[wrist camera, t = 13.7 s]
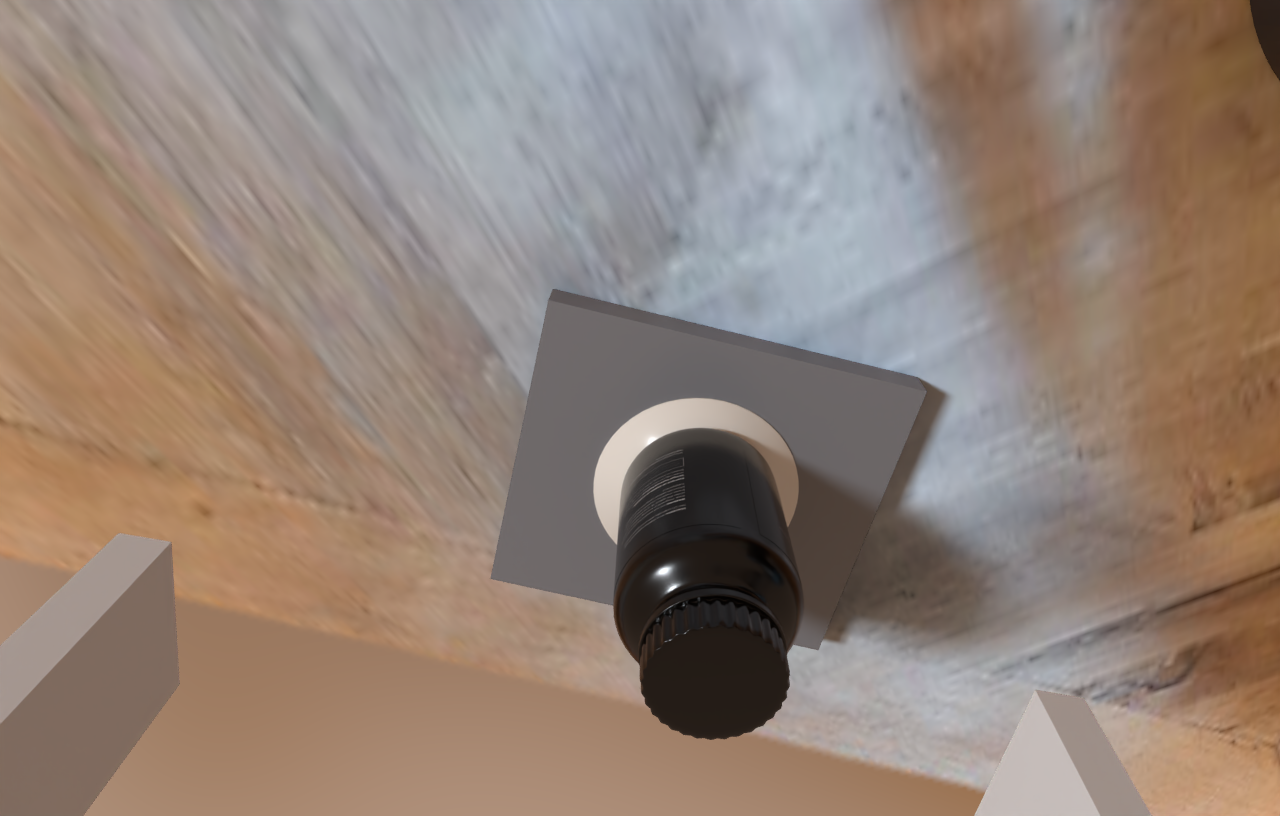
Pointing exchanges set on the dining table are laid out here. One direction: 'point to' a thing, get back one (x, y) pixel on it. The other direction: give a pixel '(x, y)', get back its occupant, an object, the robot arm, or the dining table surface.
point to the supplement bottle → (706, 583)
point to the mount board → (681, 399)
